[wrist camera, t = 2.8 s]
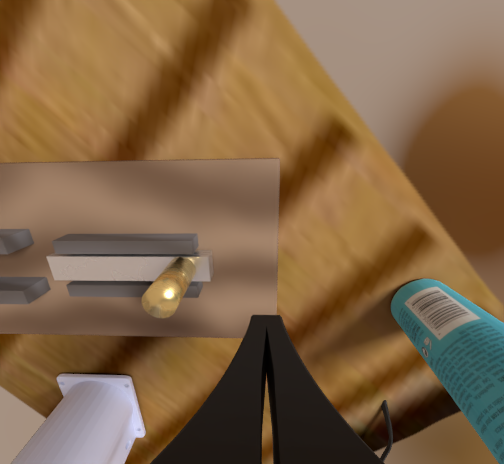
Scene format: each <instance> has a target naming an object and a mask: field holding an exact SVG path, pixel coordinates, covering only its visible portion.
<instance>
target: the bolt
mask: <svg viewBox="0 0 504 464" xmlns="http://www.w3.org/2000/svg"><path fill="white" fill-rule="evenodd" d="M46 257H47V260H48V263H49V266H50V269H51V272H52V275H53V277H54V280H81V281H154V282H153V283H152V285H151V286H150V287H149V288H148V290H147V291H146V292H145V293H144V294H143V296H142V306H143V308H144V309H145V311H146V312H147V313H148V314H150V315H151V316H154V317H157V318H167V317H170V316H171V315H173V314H174V312H175V311H176V309H177V307H178V305H179V303H180V302H181V300H182V298H183V296H184V294H185V292H186V290H187V289H188V287H189V285H190V283H191V281H208V282H210V281H211V279H212V276H213V274H214V271H213V259H212V250H196V251H195V252H194V254H56V253H55V252H54V253H52V254H50V255H48V256H46Z"/></svg>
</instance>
